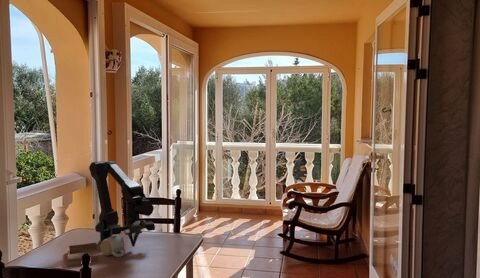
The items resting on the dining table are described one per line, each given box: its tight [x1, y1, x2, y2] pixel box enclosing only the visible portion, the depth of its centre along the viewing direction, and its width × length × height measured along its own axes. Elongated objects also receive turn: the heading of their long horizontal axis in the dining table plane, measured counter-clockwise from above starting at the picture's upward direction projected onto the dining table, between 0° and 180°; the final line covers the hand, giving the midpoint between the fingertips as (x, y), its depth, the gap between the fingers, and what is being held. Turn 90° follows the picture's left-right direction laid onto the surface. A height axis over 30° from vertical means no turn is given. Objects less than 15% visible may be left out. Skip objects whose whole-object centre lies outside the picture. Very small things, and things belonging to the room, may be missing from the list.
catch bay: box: [67, 242, 100, 267], centre depth 166 cm, size 17×12×3 cm
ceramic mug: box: [99, 234, 126, 258], centre depth 170 cm, size 11×8×8 cm
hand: (133, 246), depth 174 cm, fingers closed
